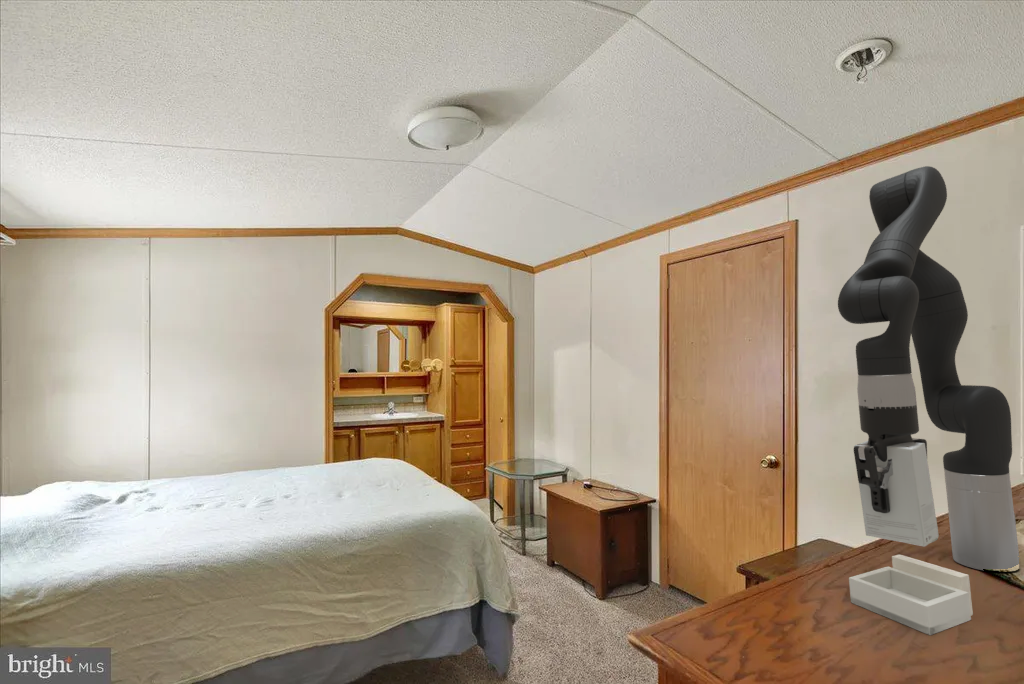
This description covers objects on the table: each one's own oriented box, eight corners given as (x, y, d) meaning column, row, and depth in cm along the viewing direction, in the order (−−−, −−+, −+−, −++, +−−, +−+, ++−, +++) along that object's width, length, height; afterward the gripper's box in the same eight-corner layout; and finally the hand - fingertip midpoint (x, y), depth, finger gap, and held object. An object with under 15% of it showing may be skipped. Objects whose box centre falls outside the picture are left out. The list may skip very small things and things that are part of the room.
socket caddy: (890, 590, 88) (887, 566, 88) (971, 619, 77) (968, 592, 77) (851, 602, 84) (848, 577, 84) (930, 635, 73) (927, 606, 73)
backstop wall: (902, 590, 88) (899, 554, 88) (972, 615, 78) (968, 574, 79) (895, 592, 87) (891, 556, 87) (964, 618, 77) (960, 577, 78)
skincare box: (939, 539, 79) (930, 442, 80) (924, 549, 76) (914, 447, 77) (877, 527, 86) (869, 438, 87) (860, 535, 83) (852, 442, 84)
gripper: (892, 398, 88) (901, 497, 87) (832, 405, 83) (841, 509, 82) (941, 400, 81) (952, 507, 80) (880, 407, 76) (890, 522, 75)
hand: (896, 508), depth 81 cm, fingers closed on skincare box, 6 cm apart
